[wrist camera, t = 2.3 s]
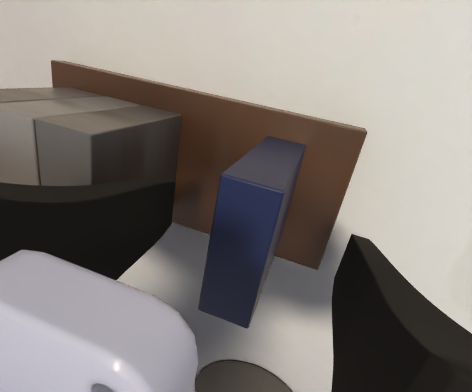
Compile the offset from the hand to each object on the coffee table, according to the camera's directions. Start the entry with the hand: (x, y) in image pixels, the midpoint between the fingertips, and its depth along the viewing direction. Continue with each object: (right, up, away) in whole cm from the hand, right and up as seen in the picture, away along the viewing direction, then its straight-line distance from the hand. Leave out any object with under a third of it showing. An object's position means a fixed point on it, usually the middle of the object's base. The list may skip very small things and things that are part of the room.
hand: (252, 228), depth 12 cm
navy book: (+1, +2, +4) cm, 5 cm away
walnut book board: (-3, +3, +6) cm, 8 cm away
